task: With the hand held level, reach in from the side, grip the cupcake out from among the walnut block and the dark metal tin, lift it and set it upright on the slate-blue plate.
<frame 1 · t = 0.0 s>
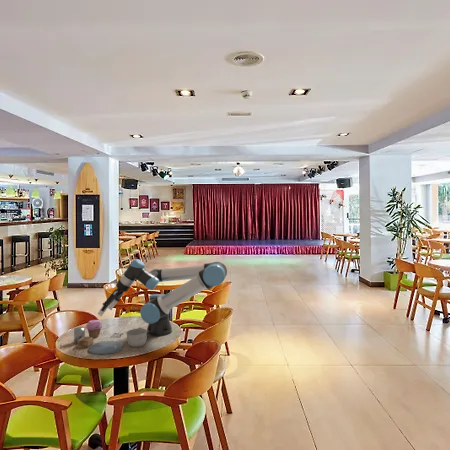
hand: (104, 311, 213), 15 cm above the table, tool tilted 35°, fingers open, 13 cm apart
teacup: (137, 344, 203), on the table
plate: (105, 348, 196), on the table
walnut block: (85, 346, 200), on the table
cupcake: (94, 337, 215), on the table
metal tin: (79, 342, 206), on the table
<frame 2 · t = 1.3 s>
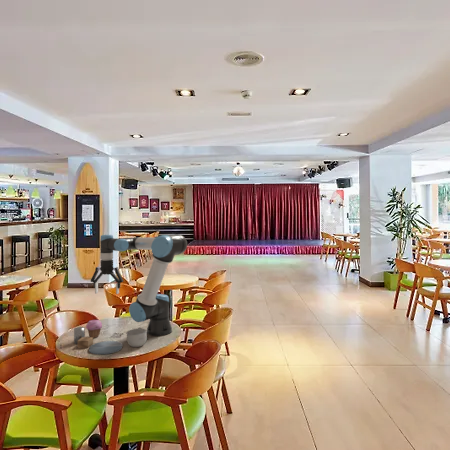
hand: (107, 293, 228), 23 cm above the table, tool pointing down, fingers open, 13 cm apart
nothing on the table moved.
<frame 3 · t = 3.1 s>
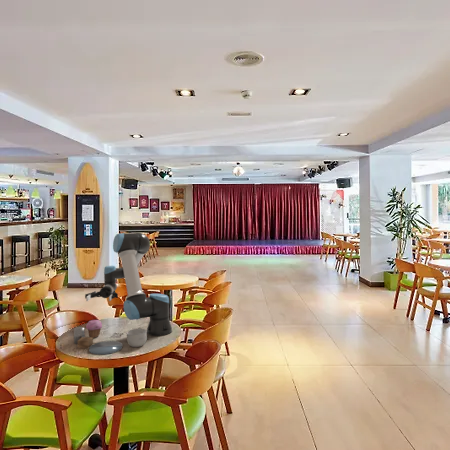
hand: (98, 299, 224), 20 cm above the table, tool horizontal, fingers open, 13 cm apart
nothing on the table moved.
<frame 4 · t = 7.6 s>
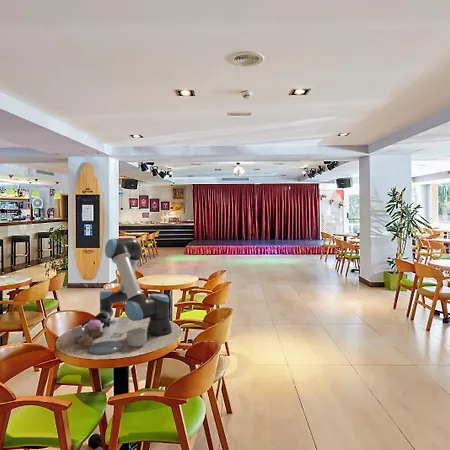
hand: (91, 329, 211), 6 cm above the table, tool horizontal, fingers closed on cupcake, 9 cm apart
cupcake: (94, 337, 215), on the table, touching gripper
everything else where it was.
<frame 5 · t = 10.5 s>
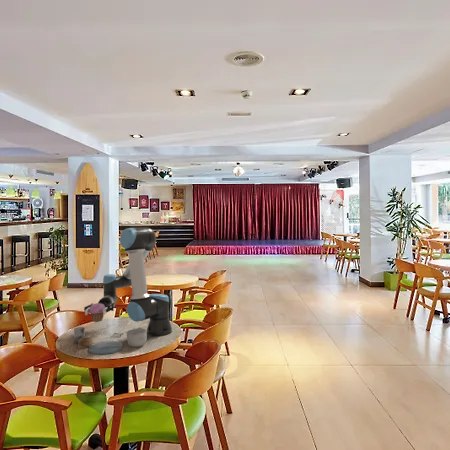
hand: (94, 312, 199), 19 cm above the table, tool horizontal, fingers closed on cupcake, 9 cm apart
cupcake: (97, 321, 204), point 12 cm above the table, touching gripper
everything else where it was.
when the fingers open (9 cm above the table, at t = 13.4 s): cupcake drops 2 cm, resting on plate.
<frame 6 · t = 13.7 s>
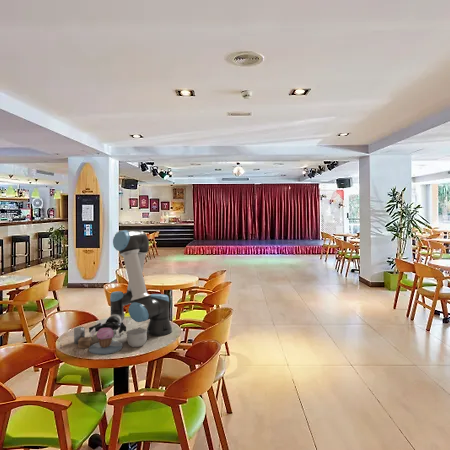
hand: (104, 333, 192), 9 cm above the table, tool horizontal, fingers open, 13 cm apart
cupcake: (105, 346, 196), point 1 cm above the table, touching plate
everything else where it was.
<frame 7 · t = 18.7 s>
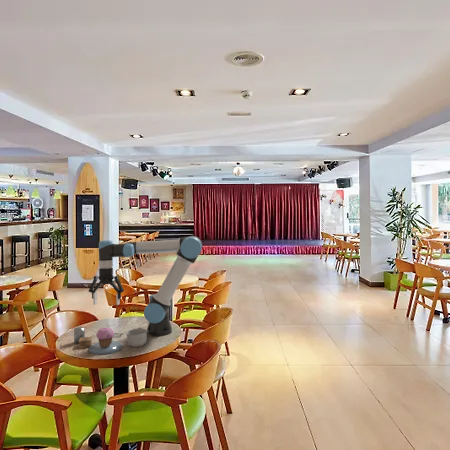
hand: (106, 304, 209), 21 cm above the table, tool pointing down, fingers open, 13 cm apart
nothing on the table moved.
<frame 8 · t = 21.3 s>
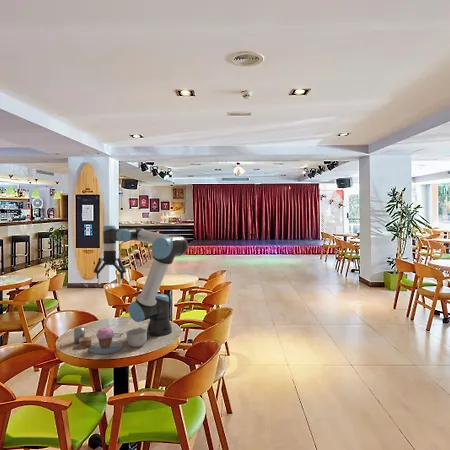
hand: (110, 284, 228), 29 cm above the table, tool pointing down, fingers open, 13 cm apart
nothing on the table moved.
at the end: cupcake 0.2 cm from the plate (horizontally); cupcake touching plate; cupcake tilted 0° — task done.
